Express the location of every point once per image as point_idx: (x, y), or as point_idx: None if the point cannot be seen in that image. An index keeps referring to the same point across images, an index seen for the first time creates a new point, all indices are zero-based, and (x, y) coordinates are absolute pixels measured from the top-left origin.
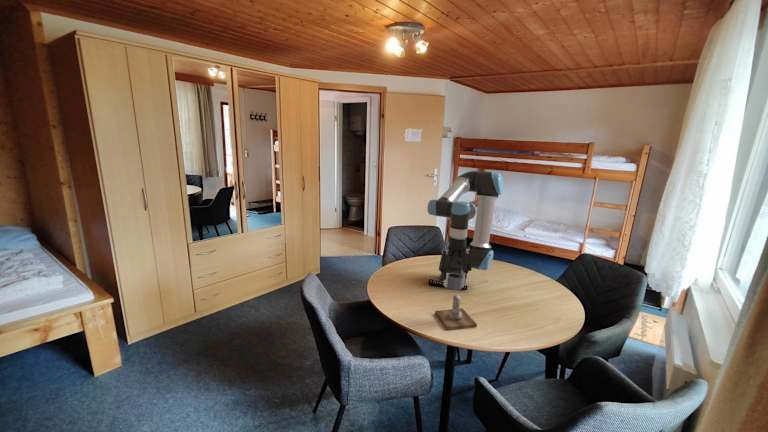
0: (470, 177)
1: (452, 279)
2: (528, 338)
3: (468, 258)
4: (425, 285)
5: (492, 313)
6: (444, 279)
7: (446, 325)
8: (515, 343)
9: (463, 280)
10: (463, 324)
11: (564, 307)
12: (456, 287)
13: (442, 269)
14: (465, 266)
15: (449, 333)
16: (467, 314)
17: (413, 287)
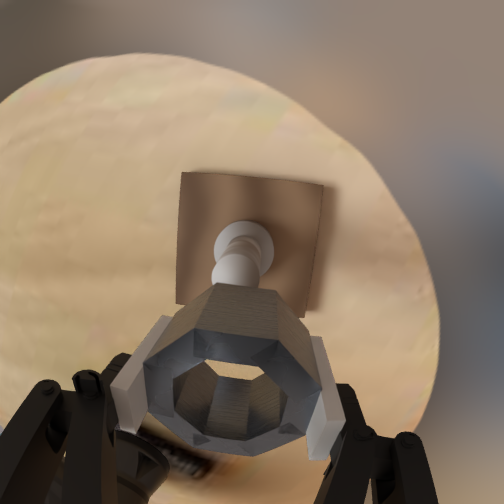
0: None
1: (293, 352)
2: (71, 86)
3: (2, 501)
4: (229, 464)
5: (80, 250)
6: (342, 385)
7: (320, 198)
8: (122, 63)
9: (153, 343)
10: (241, 183)
11: None
12: (252, 294)
13: (410, 456)
14: (78, 442)
15: (320, 165)
16: (179, 253)
17: (274, 463)
